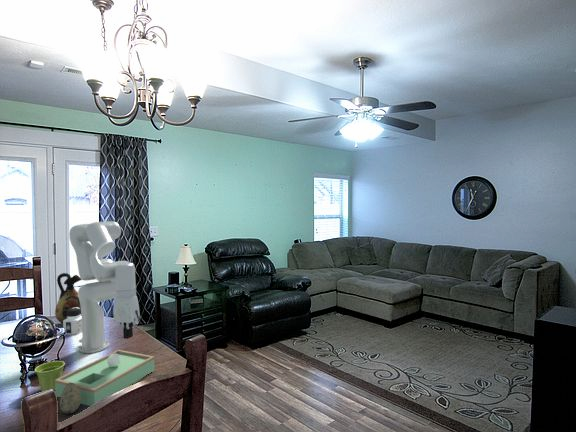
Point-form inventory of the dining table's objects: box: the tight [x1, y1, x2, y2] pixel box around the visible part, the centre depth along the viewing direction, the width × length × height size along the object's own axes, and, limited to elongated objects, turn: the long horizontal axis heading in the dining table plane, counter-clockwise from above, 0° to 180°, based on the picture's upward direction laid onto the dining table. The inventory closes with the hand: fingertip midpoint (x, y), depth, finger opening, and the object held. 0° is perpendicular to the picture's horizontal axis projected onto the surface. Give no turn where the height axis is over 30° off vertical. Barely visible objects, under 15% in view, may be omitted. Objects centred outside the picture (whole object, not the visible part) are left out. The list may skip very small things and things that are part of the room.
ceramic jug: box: [54, 272, 83, 327], centre depth 208 cm, size 17×15×30 cm
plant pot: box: [34, 360, 66, 392], centre depth 135 cm, size 9×9×9 cm
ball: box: [107, 354, 121, 367], centre depth 141 cm, size 5×5×5 cm
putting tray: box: [54, 349, 156, 407], centre depth 138 cm, size 20×28×6 cm
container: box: [62, 307, 82, 335], centre depth 195 cm, size 8×8×13 cm
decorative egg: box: [59, 383, 81, 415], centre depth 119 cm, size 6×6×10 cm
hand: (128, 337), depth 147 cm, fingers closed
